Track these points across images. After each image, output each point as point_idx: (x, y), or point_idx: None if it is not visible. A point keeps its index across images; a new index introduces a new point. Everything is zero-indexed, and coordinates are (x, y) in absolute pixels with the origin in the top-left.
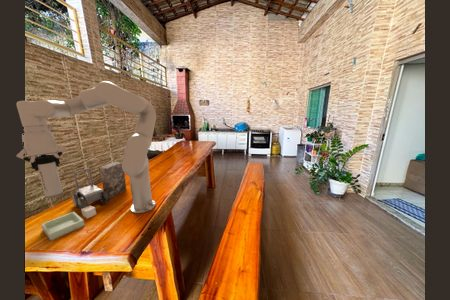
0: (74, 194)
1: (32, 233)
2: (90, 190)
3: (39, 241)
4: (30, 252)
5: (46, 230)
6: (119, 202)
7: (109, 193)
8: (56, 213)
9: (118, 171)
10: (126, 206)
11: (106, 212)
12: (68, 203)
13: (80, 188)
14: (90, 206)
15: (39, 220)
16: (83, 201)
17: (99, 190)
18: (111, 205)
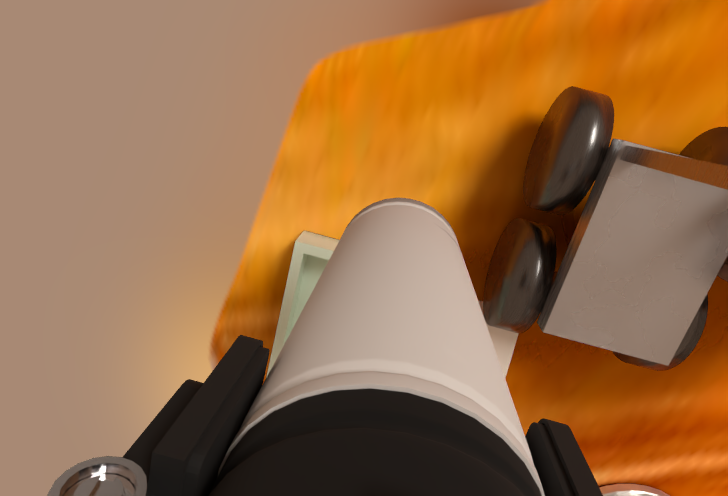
0: (566, 171)
1: (269, 213)
2: (630, 294)
3: (255, 316)
4: (210, 357)
5: (277, 333)
6: (647, 374)
7: (725, 276)
8: (433, 101)
9: None
10: (608, 448)
11: (524, 394)
12: (564, 11)
13: (657, 150)
14: (507, 345)
15: (346, 91)
16: (506, 326)
17: (648, 358)
18: (601, 357)
